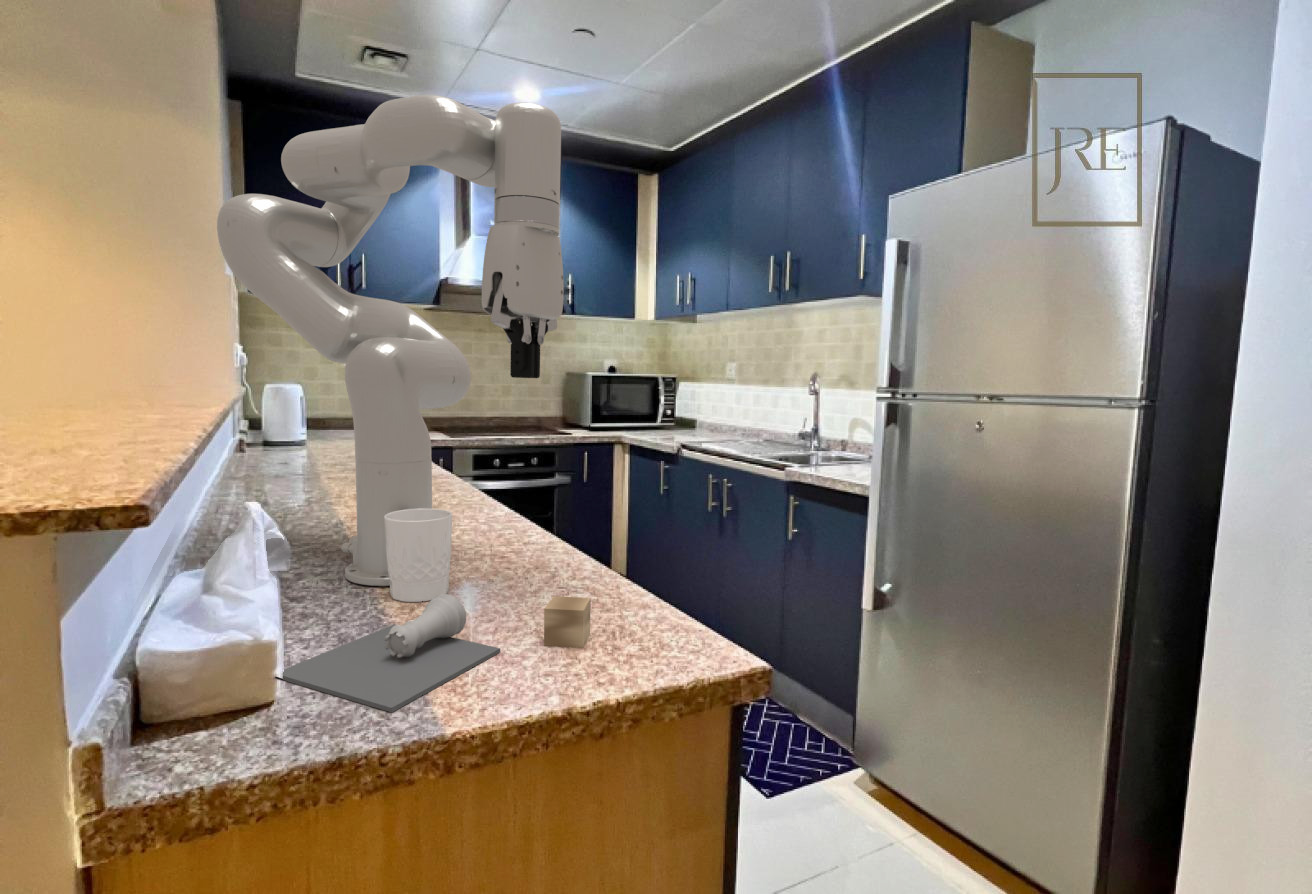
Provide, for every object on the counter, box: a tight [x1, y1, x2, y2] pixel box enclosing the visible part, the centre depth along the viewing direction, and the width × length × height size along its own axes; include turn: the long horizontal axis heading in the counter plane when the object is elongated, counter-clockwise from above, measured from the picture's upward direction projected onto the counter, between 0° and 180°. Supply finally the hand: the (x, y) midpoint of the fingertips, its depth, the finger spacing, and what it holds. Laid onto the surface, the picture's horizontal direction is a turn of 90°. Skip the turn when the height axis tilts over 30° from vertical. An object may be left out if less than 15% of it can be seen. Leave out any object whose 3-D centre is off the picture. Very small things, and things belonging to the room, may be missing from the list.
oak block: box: [543, 595, 592, 649], centre depth 72 cm, size 4×4×4 cm
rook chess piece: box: [385, 594, 467, 658], centre depth 69 cm, size 4×4×8 cm
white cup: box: [384, 508, 453, 603], centre depth 86 cm, size 8×8×10 cm
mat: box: [282, 623, 501, 713], centre depth 65 cm, size 14×14×1 cm
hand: (525, 377), depth 84 cm, fingers closed
